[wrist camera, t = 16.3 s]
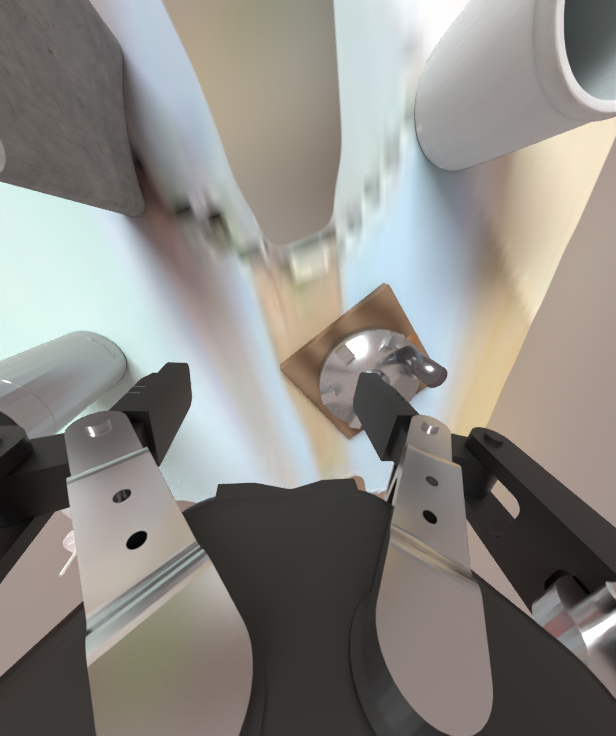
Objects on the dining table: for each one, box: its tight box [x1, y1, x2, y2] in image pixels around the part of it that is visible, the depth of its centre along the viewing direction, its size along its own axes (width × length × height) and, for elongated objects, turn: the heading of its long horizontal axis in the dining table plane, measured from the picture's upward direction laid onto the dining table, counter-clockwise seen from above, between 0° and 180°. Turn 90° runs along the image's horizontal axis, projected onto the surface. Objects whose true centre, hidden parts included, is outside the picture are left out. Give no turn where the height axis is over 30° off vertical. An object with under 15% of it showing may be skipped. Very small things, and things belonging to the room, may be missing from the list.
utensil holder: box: [415, 0, 616, 171], centre depth 22 cm, size 15×15×18 cm
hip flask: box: [0, 0, 145, 217], centre depth 17 cm, size 16×4×20 cm, turn 173°
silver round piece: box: [318, 326, 447, 429], centre depth 38 cm, size 18×18×11 cm
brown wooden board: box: [280, 283, 429, 439], centre depth 43 cm, size 22×22×2 cm
